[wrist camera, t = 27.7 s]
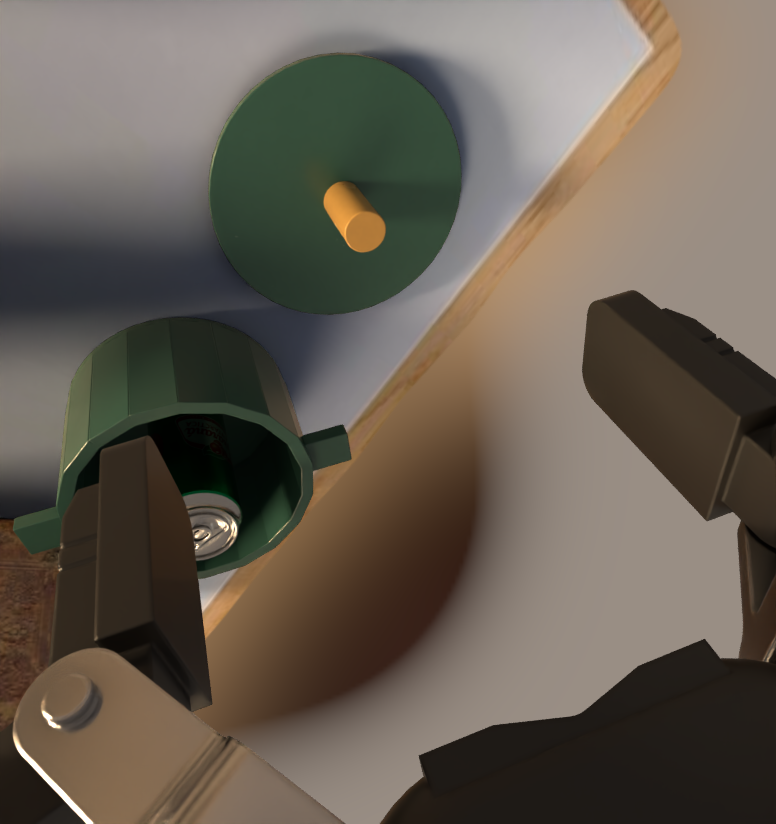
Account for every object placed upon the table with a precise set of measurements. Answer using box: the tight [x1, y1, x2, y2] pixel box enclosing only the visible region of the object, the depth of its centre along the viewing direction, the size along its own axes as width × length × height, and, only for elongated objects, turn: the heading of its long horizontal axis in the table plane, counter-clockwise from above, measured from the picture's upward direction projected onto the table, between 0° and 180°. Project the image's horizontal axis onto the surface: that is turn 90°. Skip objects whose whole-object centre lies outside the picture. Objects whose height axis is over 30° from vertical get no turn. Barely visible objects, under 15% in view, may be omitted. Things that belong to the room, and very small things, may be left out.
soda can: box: [147, 414, 242, 561], centre depth 41 cm, size 5×5×12 cm
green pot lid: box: [208, 53, 462, 315], centre depth 38 cm, size 16×16×6 cm
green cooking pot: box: [13, 317, 352, 579], centre depth 42 cm, size 15×20×10 cm
